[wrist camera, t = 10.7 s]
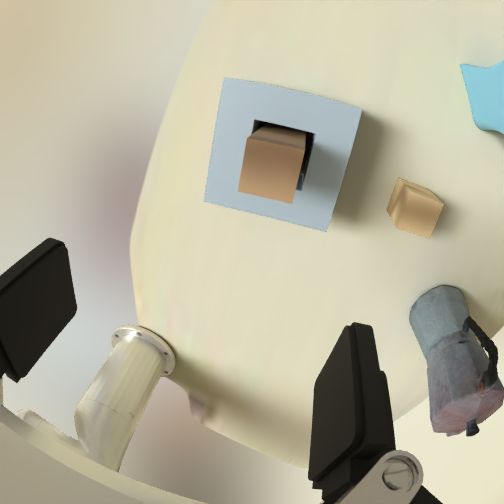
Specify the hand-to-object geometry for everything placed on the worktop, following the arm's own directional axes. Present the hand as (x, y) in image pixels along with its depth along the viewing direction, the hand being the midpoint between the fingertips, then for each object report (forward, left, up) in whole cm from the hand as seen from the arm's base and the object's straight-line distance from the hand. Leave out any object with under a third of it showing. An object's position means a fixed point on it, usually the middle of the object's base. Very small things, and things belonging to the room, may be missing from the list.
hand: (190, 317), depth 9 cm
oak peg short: (-1, -16, -26) cm, 31 cm away
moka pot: (-14, -27, -27) cm, 40 cm away
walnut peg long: (+1, -1, -26) cm, 26 cm away
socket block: (+1, -1, -26) cm, 26 cm away
